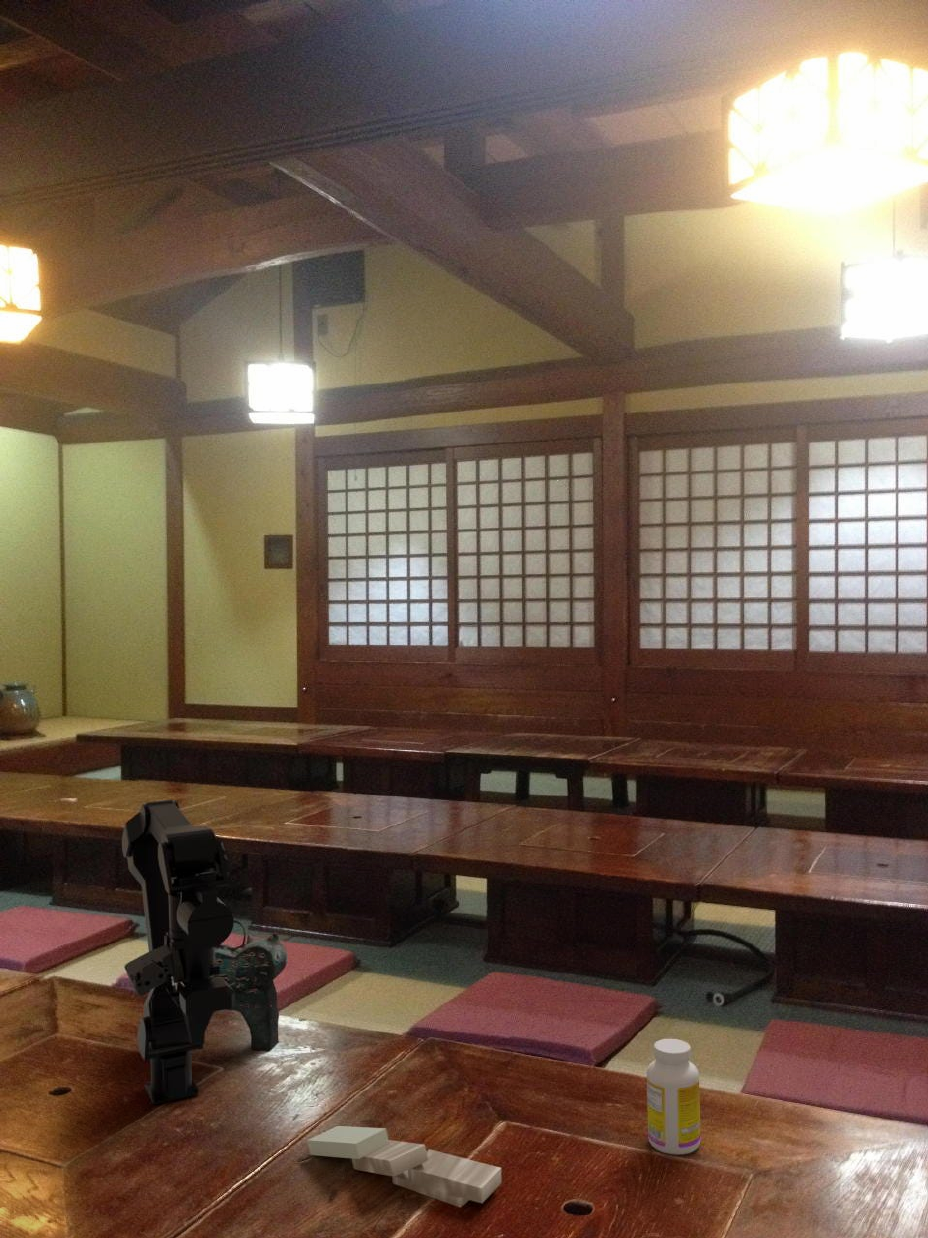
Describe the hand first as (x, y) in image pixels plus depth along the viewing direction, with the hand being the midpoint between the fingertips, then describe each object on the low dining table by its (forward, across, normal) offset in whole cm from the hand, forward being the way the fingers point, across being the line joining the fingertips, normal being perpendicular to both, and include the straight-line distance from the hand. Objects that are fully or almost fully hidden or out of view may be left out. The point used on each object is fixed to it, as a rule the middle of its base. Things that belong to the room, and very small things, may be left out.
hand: (195, 1043), depth 147 cm
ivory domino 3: (+11, +23, +22) cm, 33 cm away
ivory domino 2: (+13, +21, +21) cm, 32 cm away
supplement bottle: (+13, +31, +54) cm, 64 cm away
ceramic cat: (+13, -29, +11) cm, 34 cm away
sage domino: (+12, +10, +14) cm, 21 cm away
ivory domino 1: (+12, +16, +18) cm, 27 cm away
